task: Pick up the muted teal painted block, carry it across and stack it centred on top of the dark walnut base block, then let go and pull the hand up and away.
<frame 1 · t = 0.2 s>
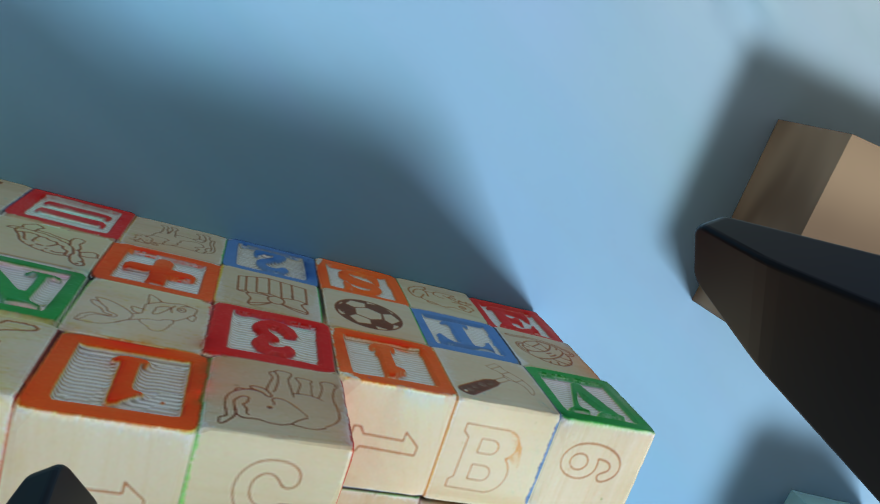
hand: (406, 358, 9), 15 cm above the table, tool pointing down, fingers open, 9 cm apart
stack of blocks: (250, 320, 25), on the table
walnut base block: (801, 237, 30), on the table
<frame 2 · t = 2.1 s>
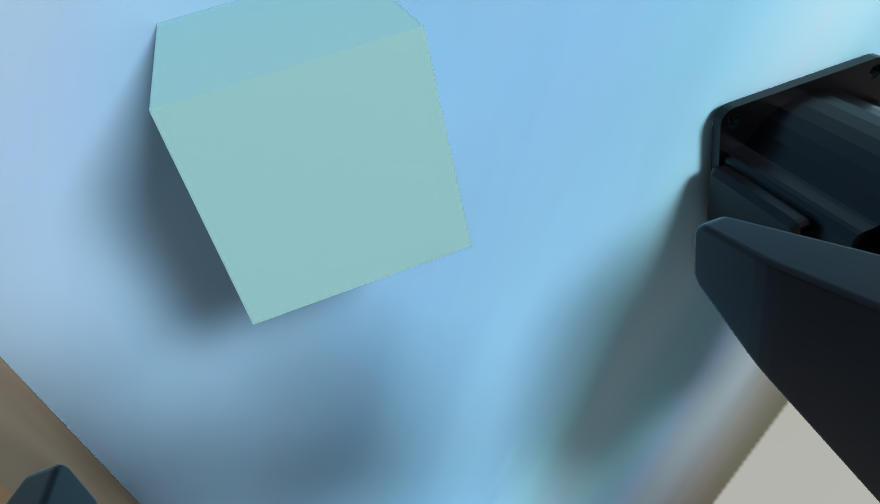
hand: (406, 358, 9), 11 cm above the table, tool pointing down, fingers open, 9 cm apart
teal block: (291, 88, 18), on the table
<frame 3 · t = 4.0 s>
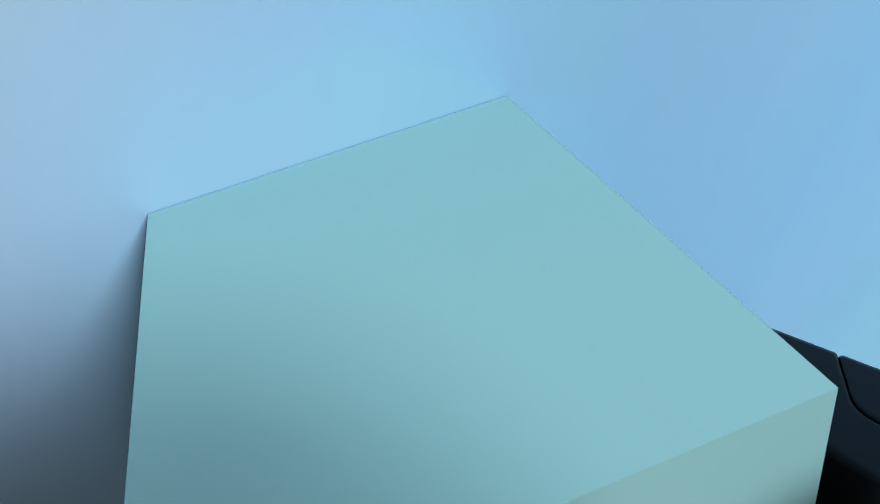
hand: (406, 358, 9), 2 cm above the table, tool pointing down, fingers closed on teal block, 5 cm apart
teal block: (380, 294, 11), on the table, touching gripper
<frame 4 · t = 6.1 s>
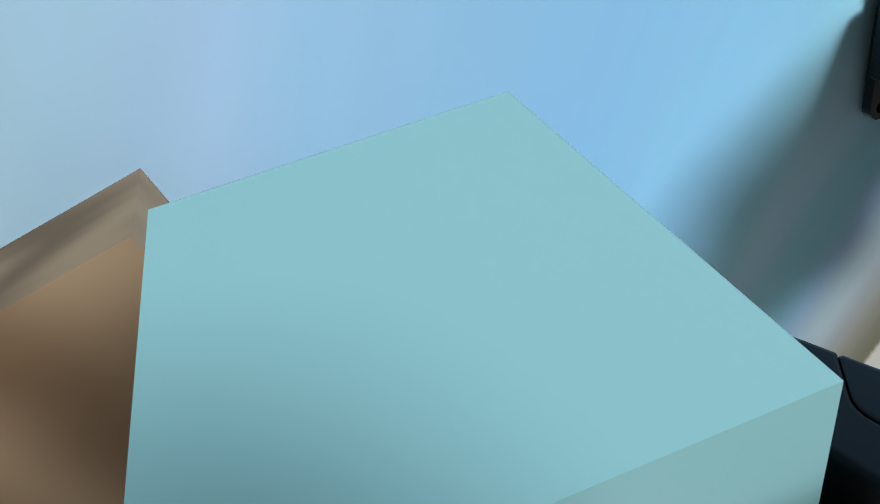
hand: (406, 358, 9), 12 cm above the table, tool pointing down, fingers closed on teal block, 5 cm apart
teal block: (381, 291, 11), point 10 cm above the table, touching gripper
walnut base block: (114, 326, 22), on the table
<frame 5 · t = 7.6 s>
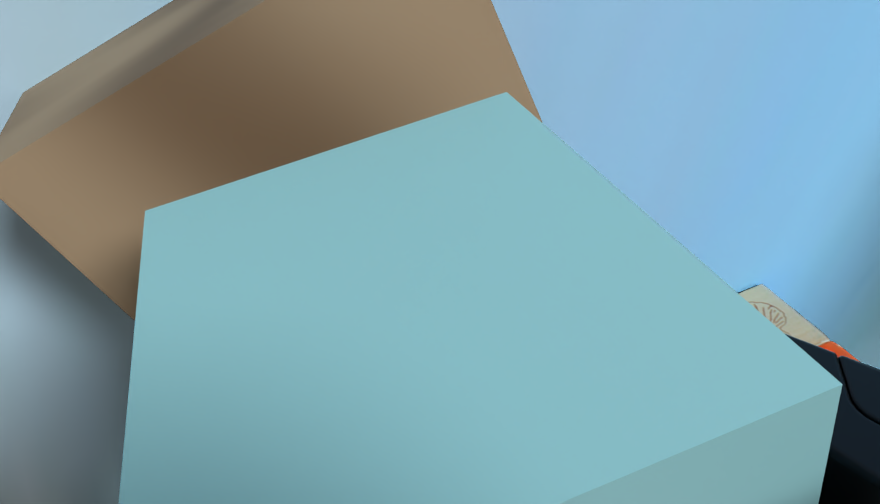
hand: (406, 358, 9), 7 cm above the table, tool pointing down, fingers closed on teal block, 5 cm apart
stack of blocks: (684, 495, 29), on the table
teal block: (379, 292, 11), point 6 cm above the table, touching gripper
walnut base block: (313, 141, 16), on the table
when the fingers open (7 cm above the table, at t = 8.5 s): teal block drops 2 cm, resting on walnut base block.
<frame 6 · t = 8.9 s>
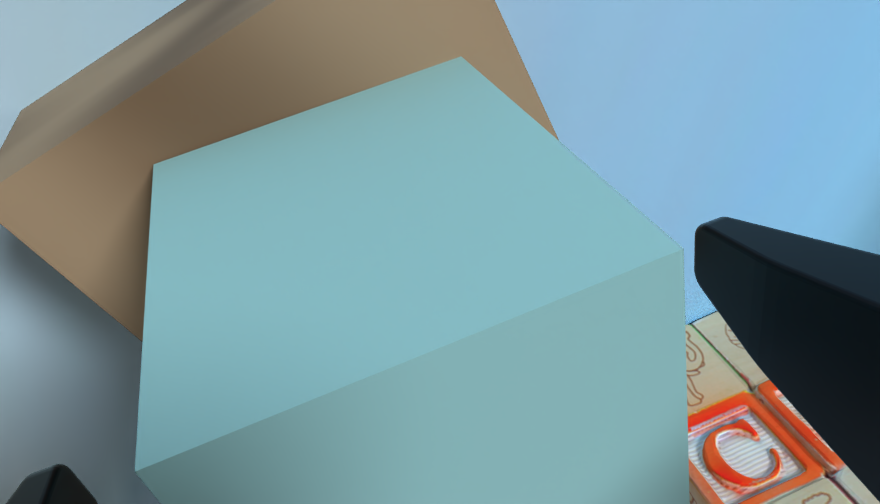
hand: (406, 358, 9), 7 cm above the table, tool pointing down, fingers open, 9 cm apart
stack of blocks: (691, 502, 28), on the table
teal block: (359, 237, 12), point 4 cm above the table, touching walnut base block
walnut base block: (318, 148, 15), on the table, touching teal block
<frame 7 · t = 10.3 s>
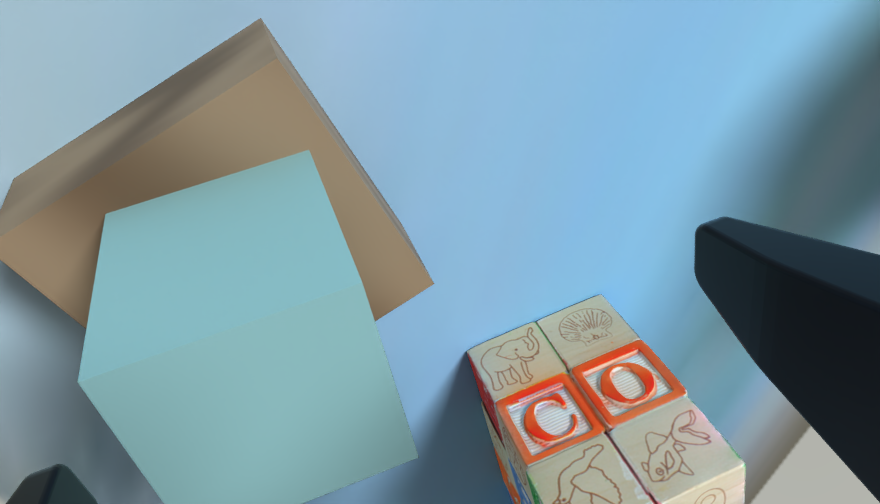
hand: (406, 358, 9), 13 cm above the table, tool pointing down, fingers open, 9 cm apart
stack of blocks: (562, 470, 34), on the table
teal block: (245, 262, 18), point 4 cm above the table, touching walnut base block
walnut base block: (228, 198, 21), on the table, touching teal block
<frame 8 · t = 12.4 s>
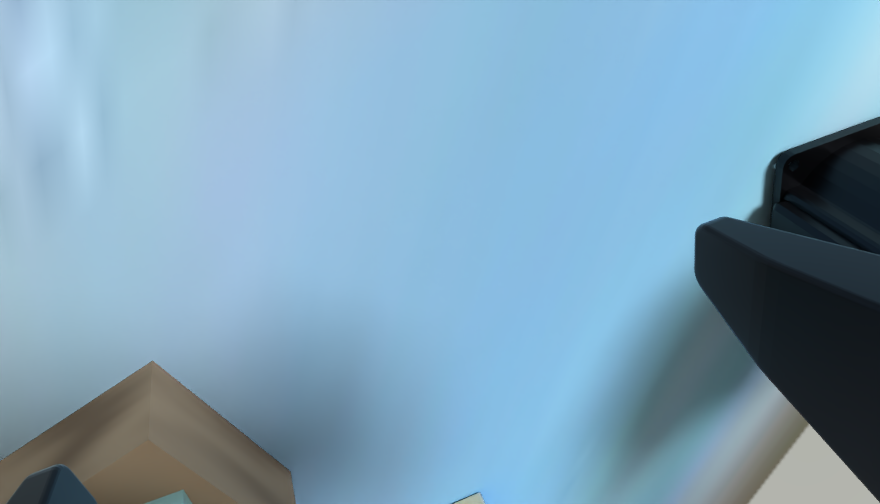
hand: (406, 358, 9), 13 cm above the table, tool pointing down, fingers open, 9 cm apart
walnut base block: (140, 471, 26), on the table, touching teal block
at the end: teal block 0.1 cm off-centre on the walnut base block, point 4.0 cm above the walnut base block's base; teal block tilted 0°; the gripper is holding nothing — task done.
